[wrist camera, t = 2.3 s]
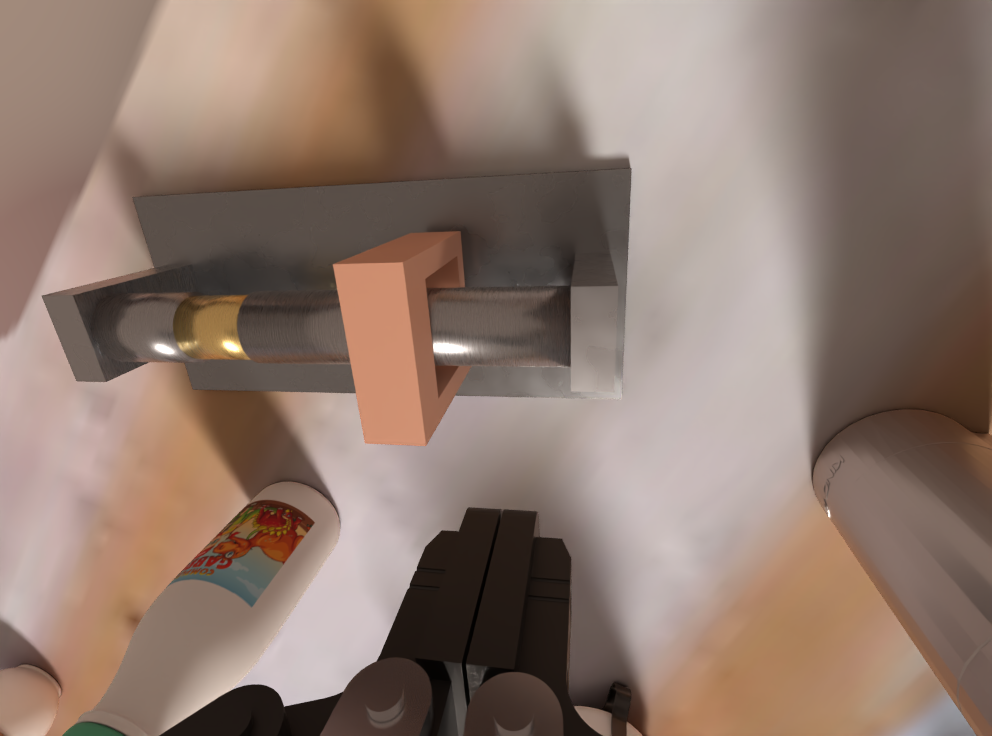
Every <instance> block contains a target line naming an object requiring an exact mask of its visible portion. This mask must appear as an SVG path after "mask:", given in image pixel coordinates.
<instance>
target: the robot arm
mask: <svg viewBox="0 0 992 736" xmlns="http://www.w3.org/2000/svg"><path fill="white" fill-rule="evenodd" d="M813 486H814V491H815V495H816V497H817V499H818V501H819V503H820V504H821V506H822V508H823V509H824V511H825V512H826V514H827V515H828V517H829V518H830V519H831V521H832V522H833V524H834V525H835V527H836V528H837V530H838V531H839V533H840V534H841V536H842V537H843V539H844V540H845V542H846V543H847V545H848V547H849V548H850V550H851V551H852V552H853V554H854V555H855V557H856V558H857V560H858V561H859V563H860V564H861V566H862V567H863V569H864V570H865V572H866V573H867V575H868V576H869V578H870V579H871V581H872V582H873V583H874V585H875V586H876V588H877V589H878V591H879V592H880V594H881V595H882V597H883V598H884V600H885V601H886V603H887V604H888V606H889V607H890V609H891V610H892V611H893V613H894V614H895V616H896V617H897V619H898V620H899V622H900V623H901V625H902V626H903V628H904V629H905V631H906V632H907V634H908V635H909V637H910V638H911V640H912V641H913V642H914V644H915V645H916V647H917V648H918V650H919V651H920V653H921V654H922V656H923V657H924V659H925V660H926V662H927V663H928V665H929V666H930V668H931V669H932V671H933V672H934V673H935V675H936V676H937V678H938V679H939V681H940V682H941V684H942V685H943V687H944V688H945V690H946V691H947V693H948V694H949V696H950V697H951V699H952V700H953V702H954V703H955V704H956V706H957V707H958V709H959V710H960V712H961V713H962V715H963V716H964V718H965V719H966V720H967V722H968V723H969V725H970V726H971V728H972V729H973V731H974V732H975V734H976V735H977V736H992V435H990V434H987V433H974V432H970V431H969V430H967V429H966V428H965V427H963V426H962V425H960V424H959V423H957V422H956V421H955V420H953V419H951V418H948V417H946V416H944V415H941V414H939V413H935V412H930V411H925V410H914V409H901V410H893V411H886V412H882V413H879V414H875V415H872V416H868V417H866V418H864V419H862V420H860V421H857V422H855V423H853V424H851V425H850V426H848V427H847V428H845V429H844V430H843V431H841V432H840V433H838V434H837V435H836V436H835V437H834V438H833V439H832V440H831V441H830V442H829V443H828V444H827V445H826V446H825V448H824V449H823V451H822V453H821V454H820V456H819V457H818V460H817V462H816V465H815V468H814V473H813ZM570 635H571V557H570V555H569V553H568V551H567V549H566V547H565V545H564V543H563V540H562V539H556V538H542V537H540V536H539V514H538V512H536V511H520V510H504V511H502V509H486V508H470V507H469V508H468V509H467V510H466V513H465V516H464V519H463V521H462V524H461V527H460V530H459V532H457V531H443V530H442V531H441V532H440V533H439V534H438V535H437V536H436V537H435V538H434V539H433V540H432V541H431V542H430V543H429V544H428V545H427V546H426V547H425V549H424V552H423V554H422V556H421V559H420V561H419V564H418V566H417V571H415V573H414V575H413V578H412V580H411V583H410V588H409V589H408V590H407V592H406V594H405V597H404V599H403V602H402V604H401V606H400V609H399V611H398V613H397V616H396V618H395V621H394V623H393V625H392V628H391V630H390V632H389V635H388V637H387V640H386V642H385V644H384V647H383V649H382V651H381V654H380V656H379V658H378V660H377V661H376V662H374V663H372V664H370V665H368V666H367V667H365V668H364V669H362V670H361V671H360V672H359V673H358V674H357V675H355V676H354V677H353V679H352V680H351V681H350V682H349V684H348V685H347V687H346V688H345V690H344V692H342V693H339V694H337V695H334V696H331V697H328V698H324V699H319V700H314V701H309V702H304V703H300V704H295V705H290V706H285V707H284V705H283V702H282V700H281V697H280V696H279V694H278V693H277V692H276V691H275V690H274V689H272V688H270V687H268V686H265V685H246V686H242V687H239V688H236V689H233V690H231V691H229V692H227V693H225V694H223V695H221V696H220V697H218V698H217V699H215V700H213V701H212V702H210V703H209V704H207V705H206V706H204V707H203V708H201V709H199V710H198V711H196V712H195V713H193V714H192V715H190V716H189V717H187V718H186V719H184V720H182V721H181V722H179V723H178V724H176V725H175V726H173V727H172V728H170V729H168V730H167V731H165V732H164V733H162V734H161V735H159V736H603V735H601V734H599V733H598V732H596V731H595V730H594V729H592V728H591V727H590V726H589V725H588V724H587V723H586V722H585V721H584V720H583V719H582V718H581V717H580V715H579V714H578V712H577V711H576V709H575V708H574V706H573V704H572V702H571V699H570V696H569V694H568V690H569V661H570Z"/></svg>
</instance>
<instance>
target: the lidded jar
mask: <svg viewBox="0 0 992 736" xmlns="http://www.w3.org/2000/svg"><path fill="white" fill-rule="evenodd" d="M60 696H61V688H60V686H59V684H58V683H57V681H56V680H55V679H54V678H53V677H52V676H51V675H49V674H48V673H47V672H45V671H44V670H42V669H40V668H38V667H36V666H33V665H28V664H22V665H19V666H17V667H15V668H8V669H3V670H0V736H45V735H46V734H47V732H48V731H49V729H50V728H51V726H52V724H53V722H54V720H55V717H56V714H57V711H58V705H59V697H60Z"/></svg>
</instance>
